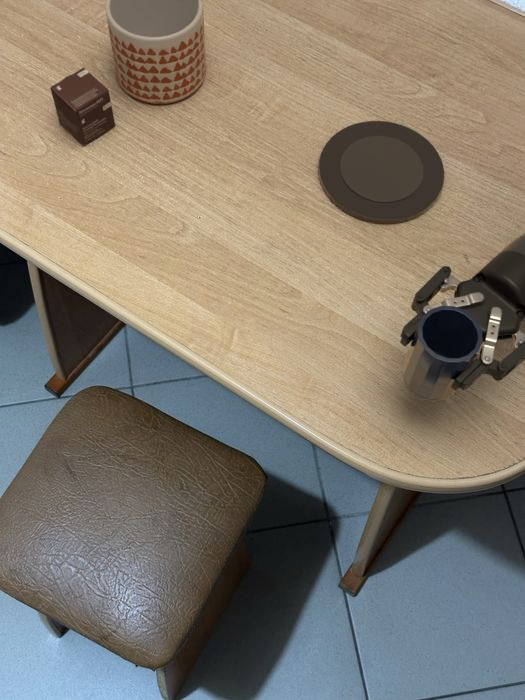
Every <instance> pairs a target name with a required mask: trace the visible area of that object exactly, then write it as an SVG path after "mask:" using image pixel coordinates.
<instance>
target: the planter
mask: <svg viewBox="0 0 525 700" xmlns="http://www.w3.org/2000/svg"><path fill="white" fill-rule="evenodd" d="M104 8H105V9H104V10H105V16H106V23H107V28H108V34H109V35H108V36H109V41H110V47H111V52H112V53H111V54H112V59H113V64H114V70H115V76H116V80H117V82H118V84H119V86H120V87H121V89H122V90H123V91H124V92H125V93H126V94H127V95H129V96H130V97H132V98H134V99H135V100H137V101H140V102H143V103H146V104H150V105H151V104H152V105H170V104H173V103H178V102H181V101H183V100H185V99H187V98H189V97H190V96H192V95H193V94H194V93H196V92H197V90H198V89H199V88H200V87H201V86H202V84H203V83H204V80H205V76H206V69H207V66H206V65H207V64H206V44H205V43H206V42H205V17H204V12H205V11H204V1H203V0H105V4H104Z"/></svg>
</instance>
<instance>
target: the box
mask: <svg viewBox="0 0 525 700" xmlns="http://www.w3.org/2000/svg"><path fill="white" fill-rule="evenodd" d="M50 91H51V96H52V99H53V103H54V107H55V111H56V115H57V119H58V123H59V124H60V125H61V126H62V127H63V128H64V129H65V130H66V131H67V132H68V133H69V134H70V135H72V136H73V138H75V140H77V141H78V142H79V143H80V144H81V145H82V146H86V145H88V144H89V143H91V142H93V141H94V140H96V139H98V138H99V137H101V136H103V135H104V134H106V133H107V132H109V131H110V130H112V129H114V128H115V126H116V122H115V117H114V111H113V106H112V101H111V96H110V90H109V89H108V87H106V86H105V85H104V84H103V83H102V82H100V81H99V80H98V78H96V77H95V76H94V75H93V74H92V73H91V72H90V71H88V70H87V69H86V68H85V67H82V68H80V69H78V70H77V71H75V72H73V73H72V74H69V75H67V76H65V77H64V78H63V79H62V80H60V81H59V82H57V83H55V84H54V85H52V86H50Z"/></svg>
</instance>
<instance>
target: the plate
mask: <svg viewBox="0 0 525 700" xmlns="http://www.w3.org/2000/svg"><path fill="white" fill-rule="evenodd" d="M318 177H319V182H320V185H321V188H322V189H323V192H324V194H325V195H326V196H327V198H328V199H329V200H330V202H331V203H333V205H334V206H336V207H337V208H338V209H339V210H341V211H342V212H343V213H345V214H347V215H349V216H350V217H352V218H354V219H357V220H359V221H363V222H366V223H371V224H377V225H395V224H402V223H406V222H409V221H411V220H415V219H416V218H418V217H420V216H422V215H424V214H425V213H426V212H428V210H430V209H432V207H433V206H434V205H435V203H436V202H437V200H438V199H439V197H440V195H441V192H442V189H443V186H444V181H445V167H444V163H443V161H442V158H441V156H440V154H439V152H438V150H437V149H436V147H435V146H434V145H433V144H432V143H431V142H430V141H429V140H428V139H427V138H425V136H423V135H422V134H420V133H419V132H418V131H416V130H414V129H412V128H410V127H408V126H405V125H403V124H400V123H396V122H392V121H386V120H385V121H384V120H368V121H360V122H356V123H353V124H351V125H348V126H346V127H344V128H342V129H340V130H339V131H337V132H336V133H334V134H333V135H332V136H331V137H330V138H329V139H328V140H327V142H326V143H325V145H324V147H322V150H321V152H320V156H319V160H318Z"/></svg>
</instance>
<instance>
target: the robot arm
mask: <svg viewBox="0 0 525 700" xmlns="http://www.w3.org/2000/svg"><path fill="white" fill-rule="evenodd" d="M451 273H452V268H451V267H450V266H448V265H444V266H443V265H442V267H441V268H440V269H439V270H437V272H436V273H434V274H433V276H432V277H431V278H429V280H428V281H427V282H426V283H425V284H424V285H423V286H422V287H420V289H418V291H417V292H416V293H415V295H414V297H413V300H412V302H411V306H410V308H411V310H412V311H414V312H415V313H416V315H415V316H414V317H413V318H412V319H410V320H409V321H408V322H407V323H406V324H405V325H403V328H402V330H401V333H400V337H401V339H400V341H399V342H400V344H401V345H402V346H403V347H407V346H409V344H411V343H412V340H413V338H414V335H415V333H416V330H417V327H418V325H419V322H420V320H421V318H422V316H423V315H425V314H426V313H427V312H428V311H429V310H430V309H433V308H436V307H439V306H455V307H457V308H460V309H463V310H465V311H467V312H468V313H469V314H470V315H472V316H473V317H474V318H475V319H476V320H477V322H478V324H479V326H480V327H481V329H482V337H483V341H482V344H481V347H480V350H479V352H478V354H477V358H475V359H474V361H473V363H472V364H471V365H470V366H469V367H468V368H467V369H466V370H464V371H463V372H462V373H461V374H460V375H459V376H458V377H457V378H456V379H455V380H454V382H453V384H452V386H451V387H452V388H453V389H454V390H455V391H456V392H457V391H458V390H459V389H461V391H465V390H468V389H469V388H470V387H471V386H472V385H473V384H474V383H475V382H476V381H477V380H478V379H480V377H481V376H482V375H489V376H491V377H492V379H493V380H494V381H497V382H500V381H502V380H503V379H504V378H505V377H507V376H508V375H509V374H510V373H511V372H513V371H514V370H515V369H516V368H518V366H519V365H521V364H522V363H523V362H524V361H525V333H524V332H523V331H522V330H521V324H522V323H524V322H525V232H524V233H523V234H521V235H520V236H518V237H517V238H515V239H513V240H512V241H511V242H510V243H508V245H507V246H505V247H504V248H503V249H502V250H501V251H500V252H499V253H497V254H496V255H495V256H494V257H492V259H491V260H490V261H489V262H488V263H486V264H485V266H483V267H482V268H481V269H480V270H478V272H477V273H476V274H474V275H473V276H472V277H471V278H469V279H466V280H463V281H460V280H459V279H458V278H456V277H455V276H454V275H452V274H451ZM448 291H454V293H453V297H452V298H446V299H444V300H442V301H441V302H436V303H431V304H429V302H430V301H431V300H433V298H434V297H435V296H436V295H437V294H438V293H439V292H440V293H442V294H443V293H446V292H448ZM511 339H512V340H513V343H512V345H511V350H512V351H511V352H510V353H508V355H506V356H505V357H504V358H503V359H502V360H501V361H499V360H497V359H494V355H495V349H496V347H497V346H496V345H497V342H498V341H502V340H503V341H504V340H511Z"/></svg>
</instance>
